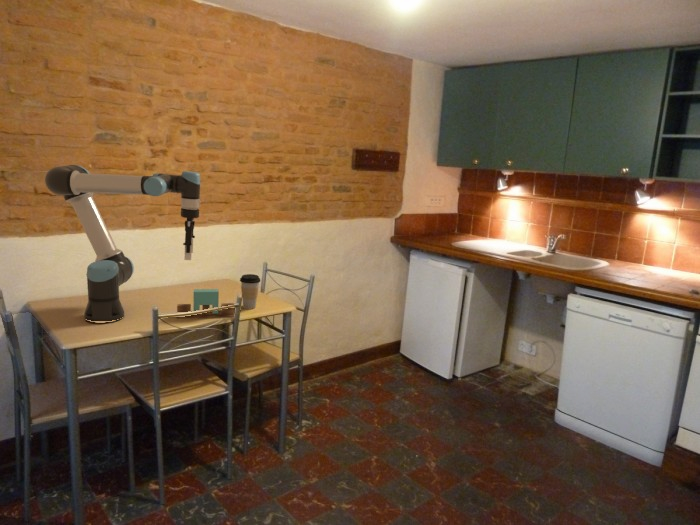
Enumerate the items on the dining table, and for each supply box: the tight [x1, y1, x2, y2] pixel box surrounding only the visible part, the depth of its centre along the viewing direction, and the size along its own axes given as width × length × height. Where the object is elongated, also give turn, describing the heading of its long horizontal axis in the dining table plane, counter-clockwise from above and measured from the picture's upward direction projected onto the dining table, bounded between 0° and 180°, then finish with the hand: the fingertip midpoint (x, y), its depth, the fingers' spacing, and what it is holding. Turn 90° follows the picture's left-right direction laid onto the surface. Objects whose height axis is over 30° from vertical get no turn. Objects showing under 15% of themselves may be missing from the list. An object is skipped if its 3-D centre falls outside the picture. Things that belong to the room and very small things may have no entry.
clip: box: [192, 288, 220, 314], centre depth 224 cm, size 10×4×10 cm, turn 106°
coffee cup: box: [239, 273, 261, 310], centre depth 239 cm, size 9×9×15 cm
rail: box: [176, 302, 235, 319], centre depth 225 cm, size 24×6×5 cm, turn 106°
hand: (188, 256), depth 223 cm, fingers open, 13 cm apart
